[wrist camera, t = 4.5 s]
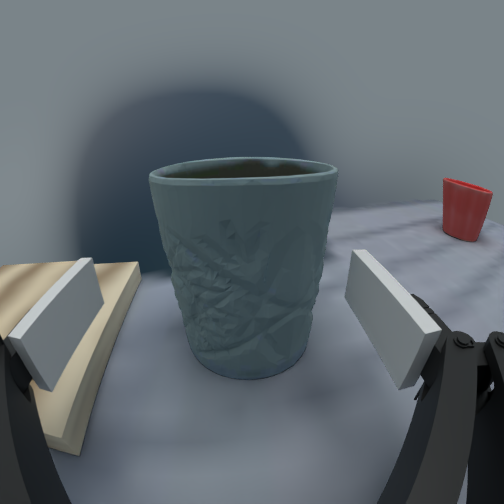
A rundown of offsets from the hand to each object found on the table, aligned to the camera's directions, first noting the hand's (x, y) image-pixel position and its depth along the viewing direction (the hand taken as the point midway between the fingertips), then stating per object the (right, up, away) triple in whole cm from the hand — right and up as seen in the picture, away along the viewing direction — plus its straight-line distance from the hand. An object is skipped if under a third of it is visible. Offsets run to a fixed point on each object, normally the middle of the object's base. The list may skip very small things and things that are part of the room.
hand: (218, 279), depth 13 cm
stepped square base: (-19, -6, +4) cm, 20 cm away
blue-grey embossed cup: (+1, -5, +6) cm, 8 cm away
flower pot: (+41, +4, +27) cm, 49 cm away
